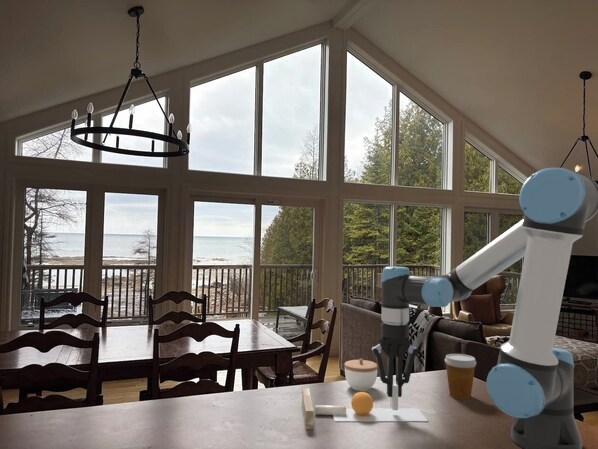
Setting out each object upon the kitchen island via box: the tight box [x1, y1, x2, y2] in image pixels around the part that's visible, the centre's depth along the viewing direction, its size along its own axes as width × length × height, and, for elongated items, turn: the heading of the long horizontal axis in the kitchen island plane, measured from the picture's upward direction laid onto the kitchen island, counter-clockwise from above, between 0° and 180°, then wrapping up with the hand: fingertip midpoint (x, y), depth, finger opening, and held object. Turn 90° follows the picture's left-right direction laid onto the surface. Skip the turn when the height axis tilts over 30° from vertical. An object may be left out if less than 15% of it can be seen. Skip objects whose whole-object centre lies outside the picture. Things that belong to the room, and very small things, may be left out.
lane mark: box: [332, 407, 429, 423], centre depth 128 cm, size 25×9×1 cm, turn 92°
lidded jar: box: [344, 358, 378, 392], centre depth 152 cm, size 11×11×9 cm
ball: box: [350, 391, 374, 415], centre depth 129 cm, size 6×6×6 cm
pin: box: [314, 404, 347, 416], centre depth 128 cm, size 2×2×8 cm
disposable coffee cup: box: [444, 353, 478, 400], centre depth 145 cm, size 10×10×12 cm
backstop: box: [301, 387, 314, 430], centre depth 127 cm, size 2×18×4 cm, turn 3°
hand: (394, 408), depth 128 cm, fingers closed
